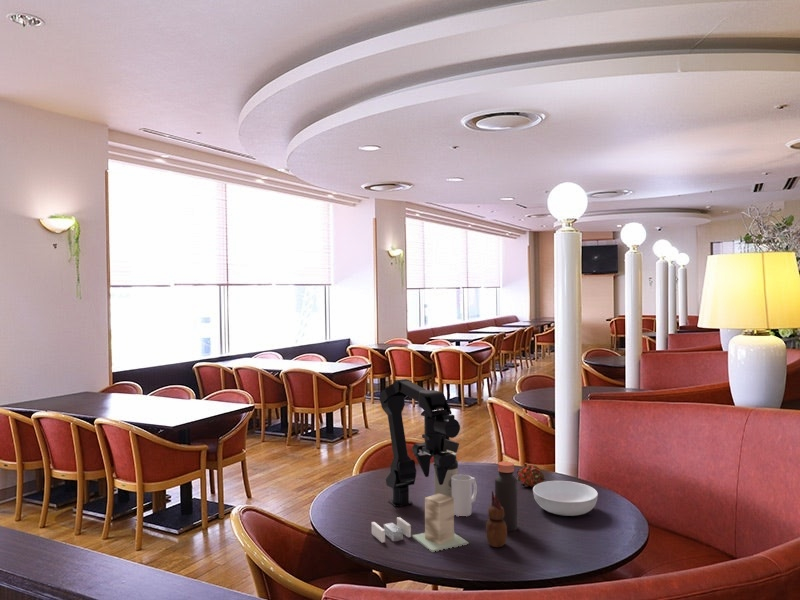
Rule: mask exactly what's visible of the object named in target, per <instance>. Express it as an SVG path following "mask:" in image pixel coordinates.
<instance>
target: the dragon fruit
mask: <svg viewBox="0 0 800 600" xmlns="http://www.w3.org/2000/svg"><path fill="white" fill-rule="evenodd" d="M516 474H517V476H516V479H517V482H520V483H523V486H525V487H527V488H528V487H531V488H533V487H534V486H535V485H537V484H539V483H542V482H545V481H546V477H545V475H544V472H543V471H542V470H541V469H540V468H539V467H538V466H537V465H533V464H527V466H525V467H523V468H521V469H518V470H517V472H516Z"/></svg>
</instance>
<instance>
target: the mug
mask: <svg viewBox="0 0 800 600" xmlns="http://www.w3.org/2000/svg"><path fill="white" fill-rule="evenodd" d="M451 488H452V498H454V516H455V515H456V517H459V516H466V517H469V516H471V515H472V508H473V507H472V506H473V505H472V504H473V503H475V501H476V498H477V492H478V485H477V482H476V478H475V477H472V476H471V475H469V474H465V473H463V474H461V473H458V474H457V475H453V476H452V477H451Z"/></svg>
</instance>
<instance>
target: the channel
mask: <svg viewBox="0 0 800 600" xmlns="http://www.w3.org/2000/svg"><path fill="white" fill-rule="evenodd" d="M396 526H398V527H399V528H400V529H402V530H403V536H405V537H407V538H411V537H412V528H411V527H412V525H411V524H410V523H409V522H407V521H406V520H404V519H403V518H401V516H399V517H396ZM371 535H372V536H373V537H374V538H376V539H377V540H378V541H379V542H380V543H381V544H383V543H386V535H385V530H384V527H381V526H380V525H379V524H378V523H377V522H375V521H371Z"/></svg>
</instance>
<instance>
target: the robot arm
mask: <svg viewBox="0 0 800 600" xmlns="http://www.w3.org/2000/svg"><path fill="white" fill-rule="evenodd" d="M406 398H410V399H413V400H415V401H416V402H417V403H418V407H420V408H421V409H422V410H423V411H422V412H421V413H420V416H423V418H424V422H423V423H424V426H423V427H424V433H422V434H421V439H423V440H424V442H418V443H414V444H413V445H412V446H411V447H412V448H411V451H412V453H413V454H414V456H415V458H416V460H417V462H418V464H419V467H420V469H421V471H422V473H423V475H424V477H426V478H428V477H429V476H430V469H431V468H430V466H431V459H432V458H433V462H434V463H435V464H434V463H433V468H435V472H436V475H437V479H438V482H439V485H442V484H443V482H444V479H445V476H446V473H447V471H448V469H449V467H451V466H453V465H454V464H456V460H457V455H456V456H455V455H454V454H451V453H449V452H447V450H449V451H453V452H454V453H457V454H458V450H459V446H460V443H459V442H456V441H454V440H452V438H453V439H454V438H455V437H457V436H458V435H459V433H460V431H461V425H460V423H459V420H457V419H456V417H455V414H453V413H452V410H451V407H450V404H449V403H448V401H447V398H446V396H445V394H444V392H443V391H440V390H434V389H426V388H424V387H422V386H420V385H418V384H416V383H414V382H412V381H411V380H410V379H407V378H401V379H397V380H394V382H392V384H389V386H386V387H385V388H384V389H382V390H381V392H380V394H379V397H378V399H379V402H380V406H381V409H382V410H383V411H384V413H385V414H386V415H387V420H388V427H389V428H388V429H389V435H390V441H391V447H392V454H393V459H392V461H391V463H390V473H389V474H388V476H387V477H386V478H385V484H386V487H389V488H391V490H392V491H391V492H392V494H391V495H392V497H391V498H392V499H391V498H390V499H388V503H390V504H392V505H393V506H394V507H405V506H408V505H409V506H410V505H413V503H414V502H413V501H412V500H410V488H409V487H410V486H414V485H415V482H416V477H417V468H416V461H415V460H414V459H412V458H411V457H410V455H409V453H408V448H407V440H406V433H405V428H404V427H405V426H404V420H403V414H402V413H403V410H404V409H405V404H406V403H405V399H406ZM442 452H446V453H442Z"/></svg>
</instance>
